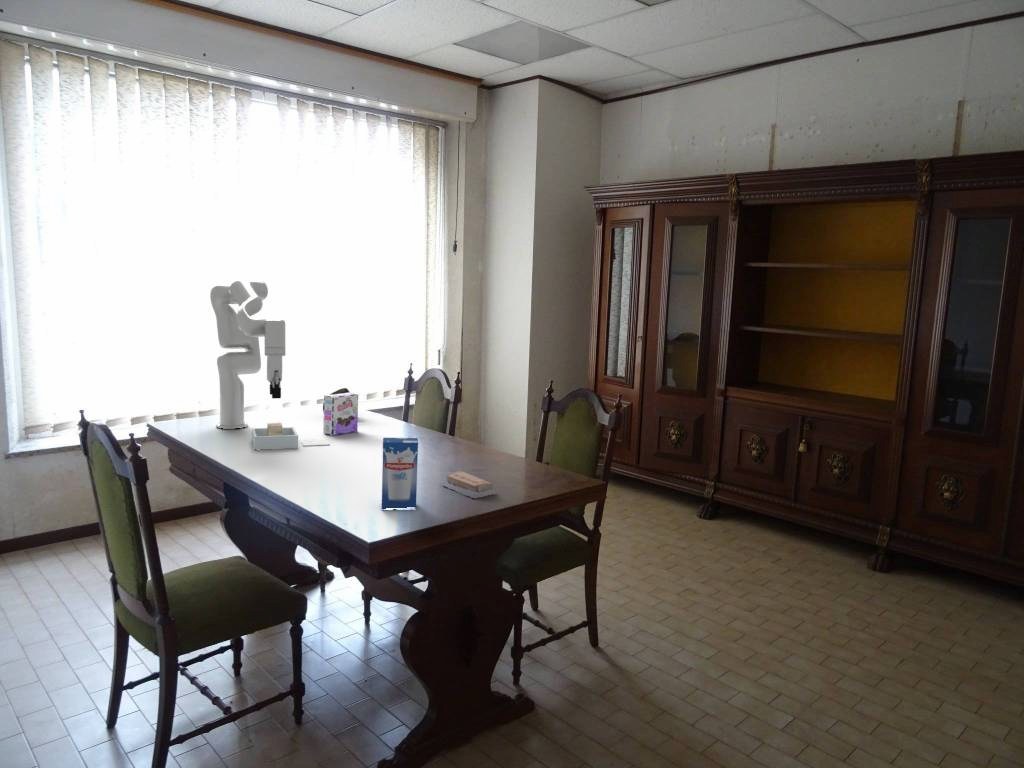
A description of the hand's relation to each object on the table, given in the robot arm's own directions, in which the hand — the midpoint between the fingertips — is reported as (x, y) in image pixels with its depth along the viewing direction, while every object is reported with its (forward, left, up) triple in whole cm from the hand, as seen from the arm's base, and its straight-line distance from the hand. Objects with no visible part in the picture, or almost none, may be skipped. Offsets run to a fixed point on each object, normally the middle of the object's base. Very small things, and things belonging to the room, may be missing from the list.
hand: (275, 396), depth 281 cm
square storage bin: (0, 0, -19) cm, 19 cm away
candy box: (-17, +28, -19) cm, 38 cm away
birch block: (0, 0, -17) cm, 17 cm away
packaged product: (+75, +52, -20) cm, 93 cm away
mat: (0, +15, -19) cm, 24 cm away
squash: (-49, +33, -19) cm, 62 cm away
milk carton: (+87, +27, -19) cm, 93 cm away
